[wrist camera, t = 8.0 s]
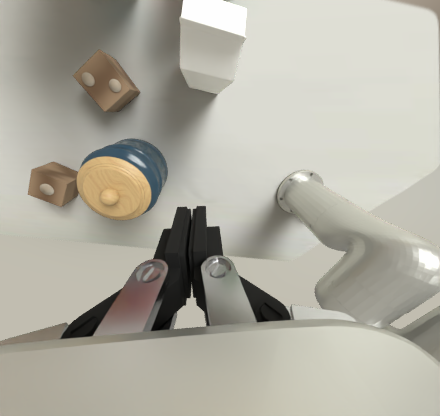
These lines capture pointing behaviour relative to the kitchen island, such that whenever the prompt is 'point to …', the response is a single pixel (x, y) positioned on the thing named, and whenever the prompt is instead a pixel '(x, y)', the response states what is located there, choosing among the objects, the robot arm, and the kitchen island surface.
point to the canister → (122, 179)
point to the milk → (211, 43)
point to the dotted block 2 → (106, 82)
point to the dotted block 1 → (53, 183)
